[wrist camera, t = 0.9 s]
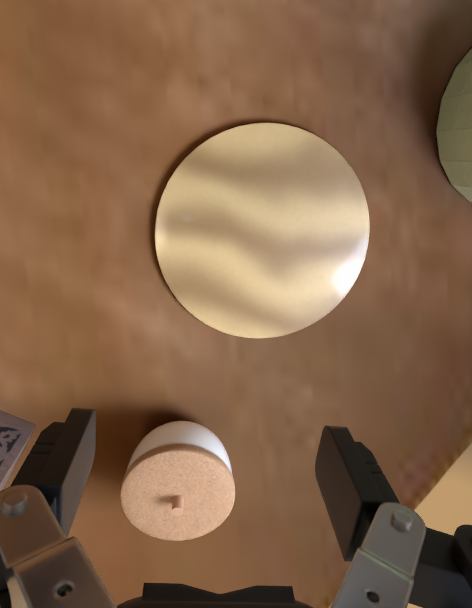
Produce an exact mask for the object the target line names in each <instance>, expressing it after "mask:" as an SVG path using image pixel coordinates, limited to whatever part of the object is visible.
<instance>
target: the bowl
mask: <svg viewBox="0 0 472 608" xmlns="http://www.w3.org/2000/svg"><path fill="white" fill-rule="evenodd" d="M436 134H437V142H438V150H439V158H440V162H441V164H442V166H443V168H444V170H445V172H446V174H447V176H448V178H449V181H450V183H451V184H452V186H453V187H454V188H455V189H456V190H458V191H459V192H460V193H461V194H462V195H463V196H464V197H465V198H466V199H467V200H468V201H469V202H471V203H472V48H471V49H470V51H469V52H468V53H467V54H466V56H465V57H464V58H463V59H462V61H461V62H460V63H459V64H458V65H457V67H456V68H455V70H454V73H453V75H452V77H451V79H450V81H449V84H448V86H447V88H446V90H445V92H444V95H443V97H442V100H441V105H440V111H439V117H438V123H437V129H436Z"/></svg>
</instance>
